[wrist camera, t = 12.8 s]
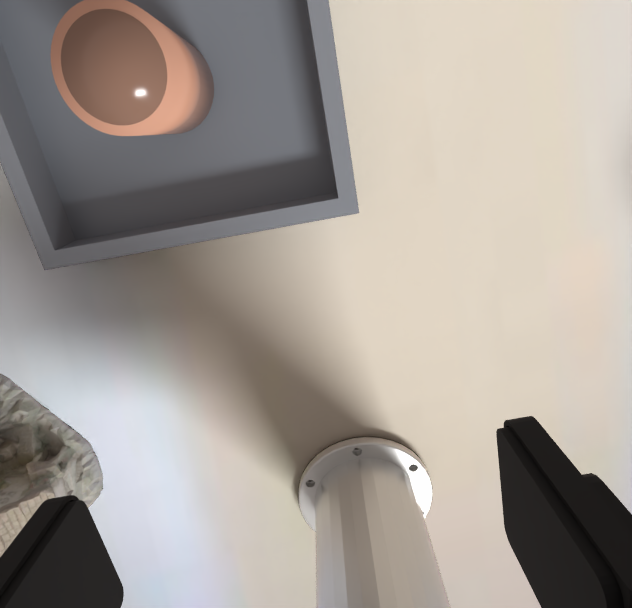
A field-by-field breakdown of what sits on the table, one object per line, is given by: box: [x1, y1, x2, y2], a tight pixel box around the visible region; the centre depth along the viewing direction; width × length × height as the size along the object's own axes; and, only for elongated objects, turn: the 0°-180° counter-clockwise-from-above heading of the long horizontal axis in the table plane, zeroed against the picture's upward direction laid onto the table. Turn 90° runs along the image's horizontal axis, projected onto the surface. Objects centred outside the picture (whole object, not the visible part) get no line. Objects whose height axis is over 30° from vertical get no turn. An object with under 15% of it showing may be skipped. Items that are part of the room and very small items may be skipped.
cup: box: [50, 0, 214, 136], centre depth 26 cm, size 6×6×9 cm
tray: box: [0, 0, 359, 270], centre depth 29 cm, size 20×22×4 cm
